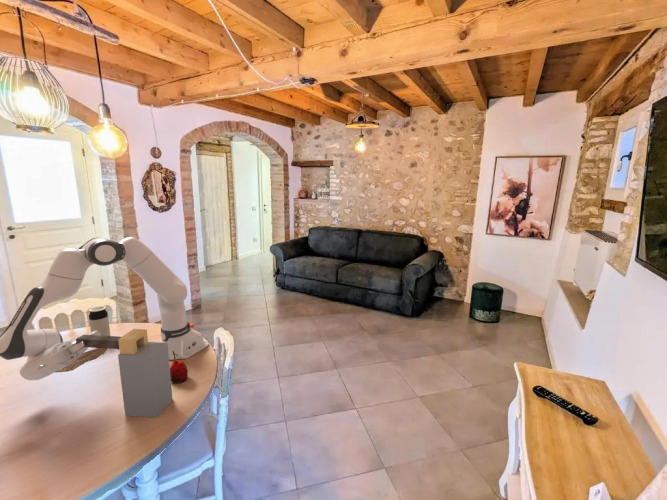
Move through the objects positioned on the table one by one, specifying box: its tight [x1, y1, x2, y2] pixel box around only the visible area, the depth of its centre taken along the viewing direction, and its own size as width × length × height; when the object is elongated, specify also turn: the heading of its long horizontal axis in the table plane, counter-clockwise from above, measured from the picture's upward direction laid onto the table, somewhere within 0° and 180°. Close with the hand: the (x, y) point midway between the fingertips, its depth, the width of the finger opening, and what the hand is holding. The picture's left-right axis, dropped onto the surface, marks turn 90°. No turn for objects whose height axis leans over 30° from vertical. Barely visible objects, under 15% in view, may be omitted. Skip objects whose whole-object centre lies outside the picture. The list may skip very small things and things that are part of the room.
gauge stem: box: [76, 334, 122, 350], centre depth 117 cm, size 20×4×3 cm, turn 86°
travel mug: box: [88, 305, 111, 336], centre depth 168 cm, size 8×8×18 cm
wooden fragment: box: [55, 348, 108, 373], centre depth 153 cm, size 26×11×1 cm, turn 163°
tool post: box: [117, 328, 173, 419], centre depth 118 cm, size 12×10×30 cm
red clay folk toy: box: [170, 351, 189, 384], centre depth 137 cm, size 8×7×15 cm
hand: (89, 339), depth 117 cm, fingers closed on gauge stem, 3 cm apart
